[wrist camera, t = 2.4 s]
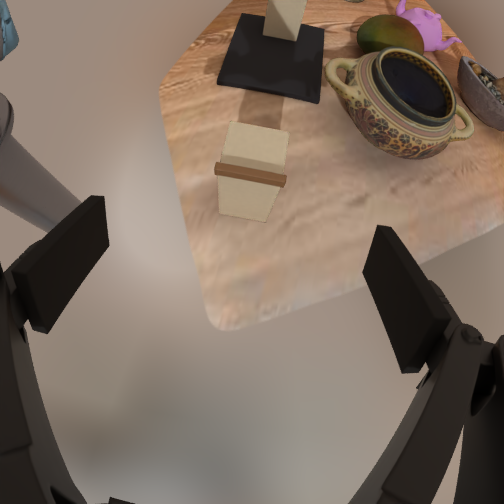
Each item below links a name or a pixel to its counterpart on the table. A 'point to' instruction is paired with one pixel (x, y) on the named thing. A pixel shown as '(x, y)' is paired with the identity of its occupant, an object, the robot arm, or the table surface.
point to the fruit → (389, 34)
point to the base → (276, 53)
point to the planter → (482, 92)
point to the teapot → (426, 26)
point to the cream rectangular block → (251, 170)
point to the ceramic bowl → (400, 102)
